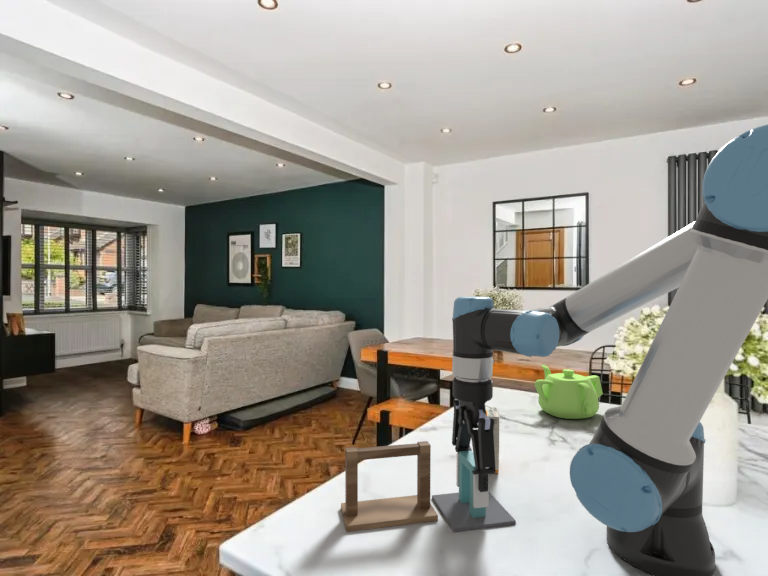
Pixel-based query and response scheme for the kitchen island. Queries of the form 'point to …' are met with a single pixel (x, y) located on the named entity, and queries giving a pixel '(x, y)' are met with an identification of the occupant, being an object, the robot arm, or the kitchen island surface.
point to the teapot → (569, 394)
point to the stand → (387, 509)
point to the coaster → (461, 516)
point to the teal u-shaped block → (468, 482)
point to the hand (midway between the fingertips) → (471, 495)
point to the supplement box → (495, 432)
